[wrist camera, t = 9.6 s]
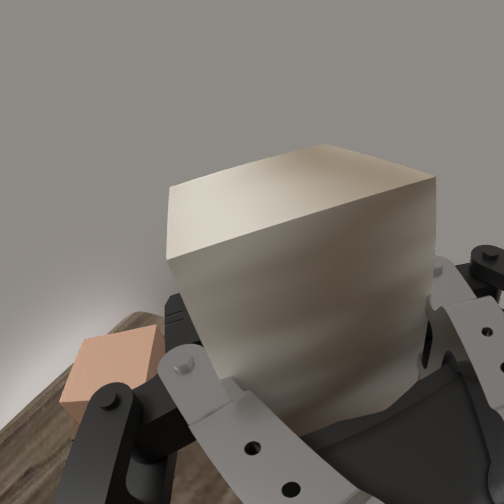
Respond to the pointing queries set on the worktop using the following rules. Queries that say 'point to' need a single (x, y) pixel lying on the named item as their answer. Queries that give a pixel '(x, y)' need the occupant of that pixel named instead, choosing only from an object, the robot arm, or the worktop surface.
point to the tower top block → (112, 365)
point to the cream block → (308, 278)
